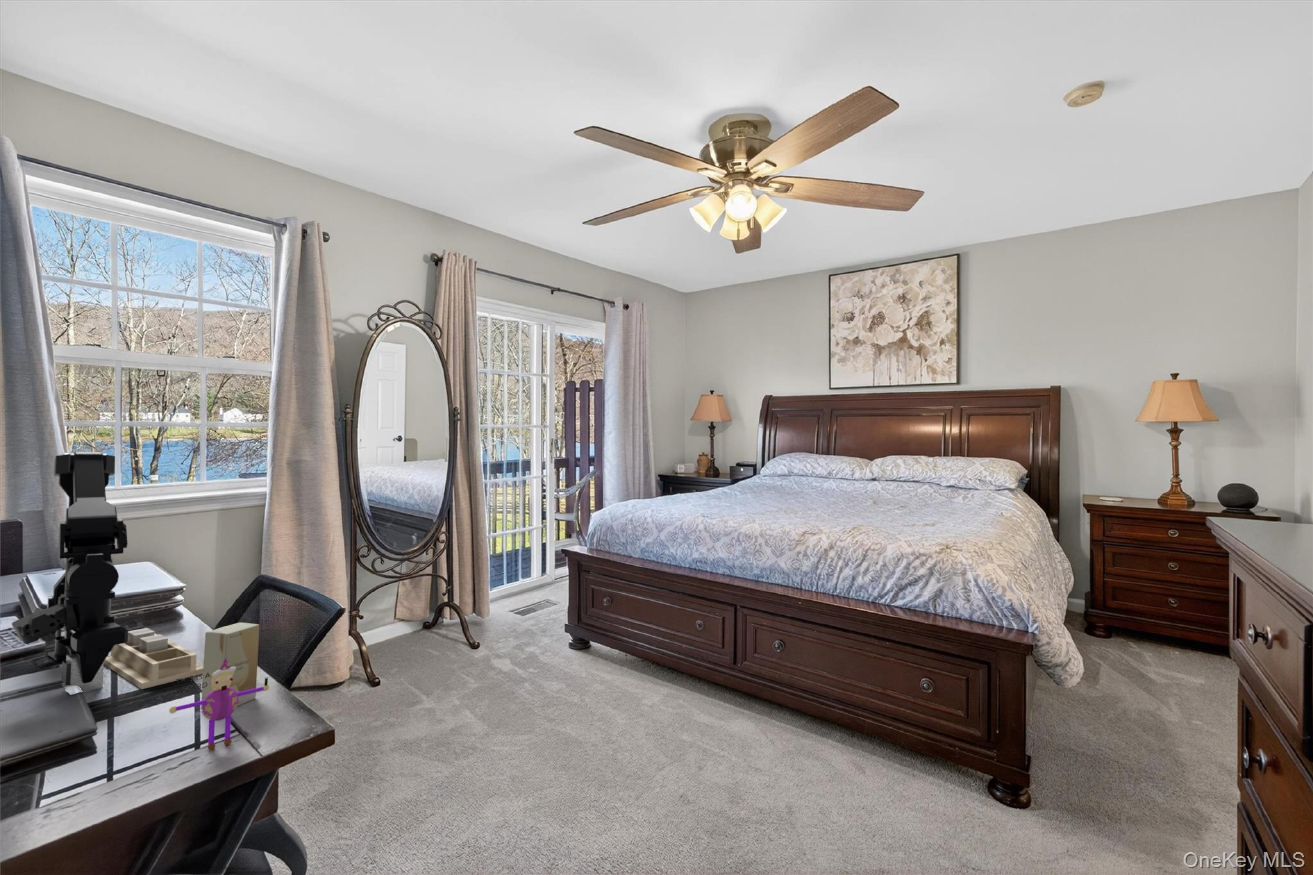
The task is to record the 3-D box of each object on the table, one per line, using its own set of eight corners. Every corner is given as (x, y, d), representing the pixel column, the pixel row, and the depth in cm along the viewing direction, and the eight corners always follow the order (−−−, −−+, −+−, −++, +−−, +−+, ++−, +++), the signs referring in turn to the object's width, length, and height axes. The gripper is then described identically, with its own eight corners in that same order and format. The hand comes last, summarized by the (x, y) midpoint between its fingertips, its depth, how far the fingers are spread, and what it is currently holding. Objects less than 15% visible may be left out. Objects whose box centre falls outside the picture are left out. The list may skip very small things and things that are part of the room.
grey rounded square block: (65, 696, 96) (67, 659, 96) (60, 692, 97) (62, 655, 97) (102, 687, 99) (104, 652, 100) (96, 683, 101) (98, 648, 101)
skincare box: (222, 714, 90) (225, 634, 91) (199, 711, 91) (202, 632, 92) (258, 697, 97) (261, 622, 97) (236, 694, 98) (239, 621, 98)
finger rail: (102, 662, 111) (103, 633, 111) (161, 650, 118) (162, 622, 118) (141, 689, 99) (143, 656, 99) (204, 673, 107) (206, 642, 107)
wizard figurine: (168, 764, 76) (172, 671, 76) (165, 755, 78) (169, 665, 78) (269, 735, 84) (272, 651, 84) (264, 728, 86) (267, 646, 86)
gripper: (6, 588, 97) (1, 682, 97) (34, 605, 87) (29, 711, 87) (96, 577, 107) (92, 663, 106) (131, 591, 97) (126, 687, 96)
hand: (84, 680), depth 99 cm, fingers closed on grey rounded square block, 3 cm apart
